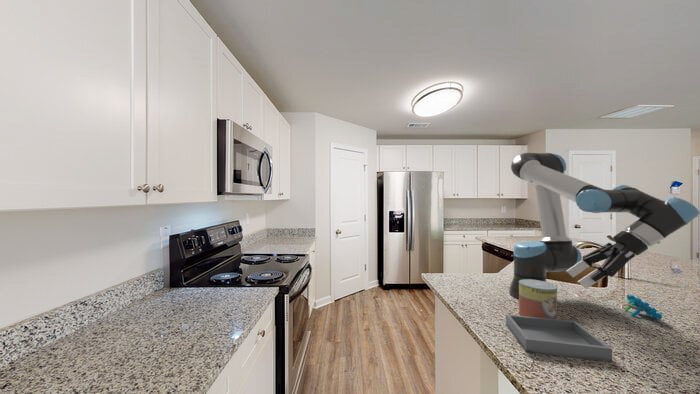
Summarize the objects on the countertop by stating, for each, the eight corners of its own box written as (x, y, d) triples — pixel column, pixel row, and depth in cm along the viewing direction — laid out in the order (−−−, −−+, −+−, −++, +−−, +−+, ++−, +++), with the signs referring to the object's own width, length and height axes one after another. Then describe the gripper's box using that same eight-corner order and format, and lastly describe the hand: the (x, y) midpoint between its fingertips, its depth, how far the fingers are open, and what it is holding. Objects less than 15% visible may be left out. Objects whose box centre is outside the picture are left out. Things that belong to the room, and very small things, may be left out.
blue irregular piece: (672, 320, 89) (643, 296, 92) (658, 331, 89) (629, 307, 92) (645, 311, 99) (620, 290, 102) (633, 321, 100) (608, 300, 103)
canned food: (540, 326, 87) (540, 290, 88) (511, 312, 98) (511, 280, 98) (565, 322, 90) (565, 287, 91) (534, 309, 101) (534, 278, 101)
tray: (505, 324, 89) (505, 314, 89) (575, 331, 84) (575, 321, 84) (525, 351, 73) (525, 339, 73) (612, 362, 68) (612, 348, 68)
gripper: (673, 255, 70) (599, 301, 77) (628, 241, 93) (574, 278, 99) (645, 234, 73) (576, 280, 80) (608, 226, 95) (556, 262, 102)
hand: (575, 279), depth 90 cm, fingers open, 13 cm apart
